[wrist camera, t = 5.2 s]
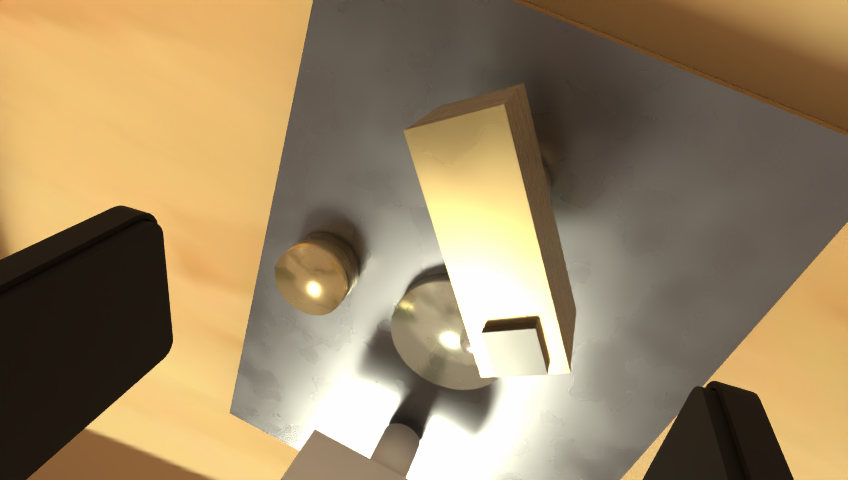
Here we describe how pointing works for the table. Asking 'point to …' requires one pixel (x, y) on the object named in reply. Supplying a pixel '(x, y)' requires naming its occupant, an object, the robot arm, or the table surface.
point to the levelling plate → (577, 226)
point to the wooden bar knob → (497, 231)
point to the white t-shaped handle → (356, 458)
